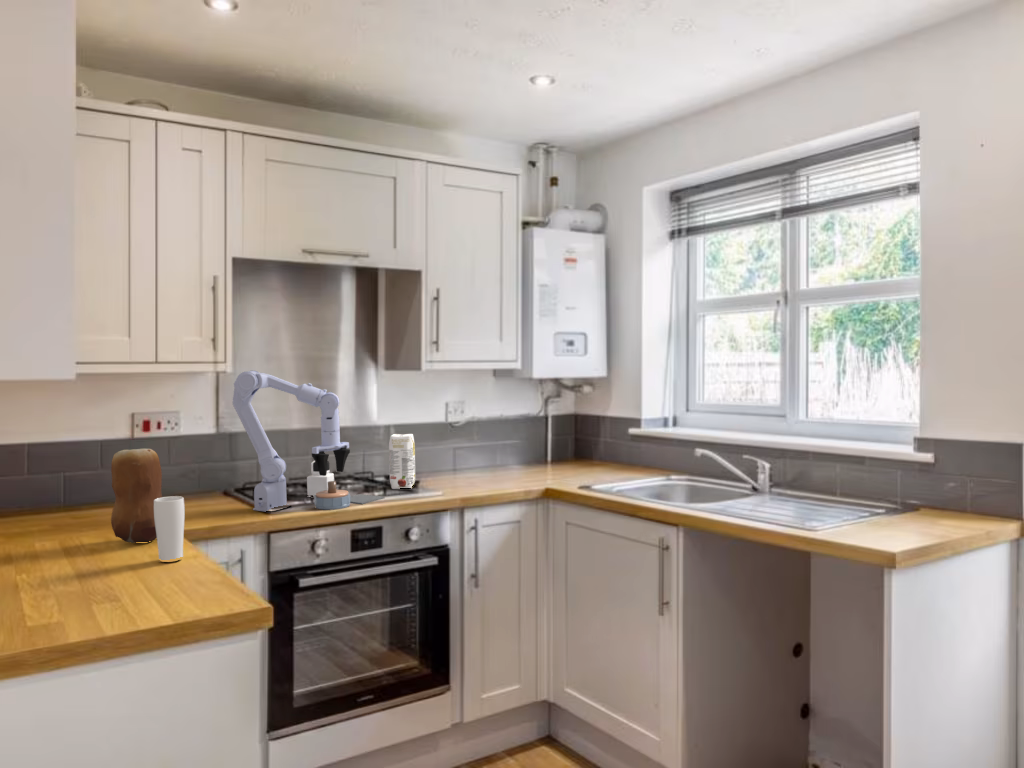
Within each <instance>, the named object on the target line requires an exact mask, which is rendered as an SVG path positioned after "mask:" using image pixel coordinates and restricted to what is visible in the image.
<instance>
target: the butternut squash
mask: <svg viewBox="0 0 1024 768" xmlns="http://www.w3.org/2000/svg"><path fill="white" fill-rule="evenodd" d="M110 471H111V488H112V490H113V492H114V496H115V502H114V504H113V507H112V512H111V517H110V518H111V519H110V521H111V528H112V530H113V534H114V536H115V537H116V538H120V539H121V540H122V541H124V542H127V543H130V542H131V543H130V544H137V543H136V542H149V541H152V540H154V541H155V540H157V536H156V529H155V521H154V500H155V499H157V498H162V497H163V494H162V485H163V483H162V480H163V471H162V466H161V461H160V457H159V455H158V453H157V452H156V451H155V450H154V449H152V448H137V449H136V448H134V449H122V450H119V451H117V452H115V453H114V454H113V457H112V460H111V469H110ZM149 543H150V542H149Z"/></svg>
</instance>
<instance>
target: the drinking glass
mask: <svg viewBox="0 0 1024 768" xmlns="http://www.w3.org/2000/svg"><path fill="white" fill-rule="evenodd" d="M185 507H186V506H185V498H184V497H183V496H179V495H175V496H173V495H172V496H162V498H157V499H155V500H154V521H155V529H156V536H157V538H156V543H157V550H158V560H159V559H161V560H170V559H176V558H180V557H183V558H184V539H185V538H184V535H185V521H186V519H185V518H186V517H185V516H186V515H185V513H186V512H185V511H186V510H185V509H186V508H185Z"/></svg>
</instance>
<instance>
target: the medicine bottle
mask: <svg viewBox="0 0 1024 768" xmlns="http://www.w3.org/2000/svg"><path fill="white" fill-rule="evenodd" d="M310 469H311V470H310V472H311V474H310V475H308V476H307V477H306V489H307V495H313V496H315V495H316V493H317V492H320V491H325V490H328V482H329V481H335V474H334V473H332V472H331V471H330V462H329V461H328V460H327V473H326V476H322V475H320V474H319V470H318V467H317V464H316V462H315V460H313V461H312V462H311V463H310Z"/></svg>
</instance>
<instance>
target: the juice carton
mask: <svg viewBox="0 0 1024 768" xmlns="http://www.w3.org/2000/svg"><path fill="white" fill-rule="evenodd" d="M415 449H416V445H415V437H414V434H413V433H406V434H400V433H393V434H392V435H390V436H389V443H388V452H389V453H388V455H389V457H388V459H389V482H390V483H389V484H390V487H391V489H392V490H401V489H400V488H411V489H412V488H413V487H414V486H415V482H416V450H415ZM413 485H414V486H413ZM412 486H413V487H412Z"/></svg>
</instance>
